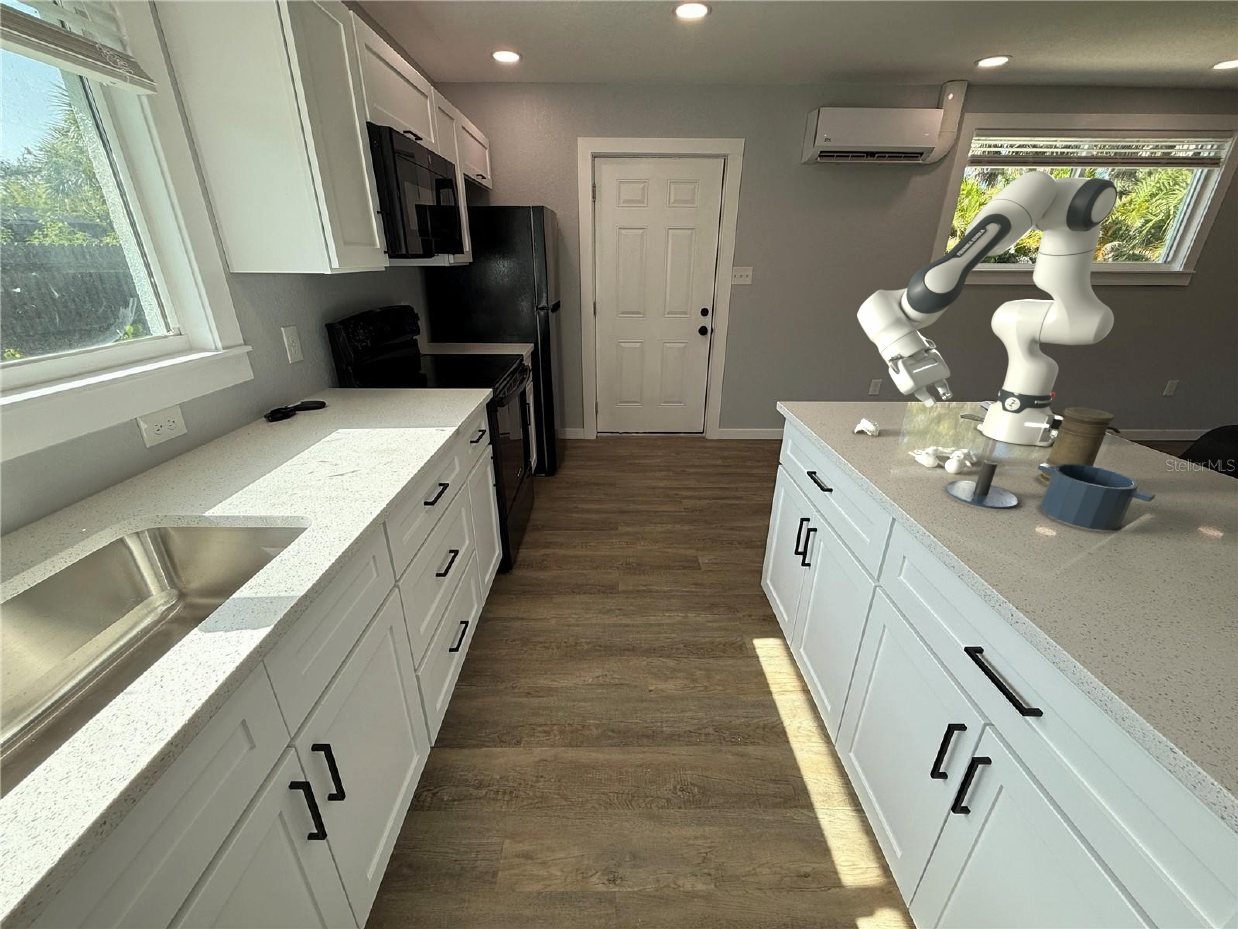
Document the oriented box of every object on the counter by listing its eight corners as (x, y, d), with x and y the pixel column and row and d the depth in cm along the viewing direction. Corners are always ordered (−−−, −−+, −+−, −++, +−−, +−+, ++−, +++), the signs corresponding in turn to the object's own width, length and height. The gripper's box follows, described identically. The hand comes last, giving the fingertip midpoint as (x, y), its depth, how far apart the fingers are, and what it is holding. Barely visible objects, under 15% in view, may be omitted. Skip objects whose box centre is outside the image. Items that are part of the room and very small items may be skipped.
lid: (964, 480, 119) (974, 447, 116) (1028, 502, 108) (1041, 466, 105) (932, 492, 113) (941, 458, 110) (996, 517, 102) (1009, 479, 99)
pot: (1041, 493, 112) (1056, 455, 108) (1147, 528, 98) (1167, 485, 94) (1014, 506, 107) (1028, 466, 103) (1121, 544, 92) (1141, 500, 89)
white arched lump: (856, 430, 156) (857, 415, 155) (879, 431, 153) (881, 416, 151) (853, 436, 150) (854, 420, 148) (878, 437, 146) (879, 421, 145)
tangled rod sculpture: (927, 449, 141) (929, 436, 140) (987, 460, 130) (990, 445, 129) (900, 465, 129) (902, 450, 128) (963, 478, 119) (966, 462, 117)
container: (1096, 494, 112) (1127, 419, 105) (1051, 491, 113) (1079, 416, 106) (1071, 478, 120) (1098, 407, 113) (1029, 475, 121) (1054, 405, 114)
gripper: (898, 349, 107) (936, 402, 103) (935, 340, 118) (970, 387, 115) (873, 366, 111) (908, 417, 108) (911, 356, 123) (944, 401, 120)
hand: (941, 401), depth 112 cm, fingers open, 8 cm apart
